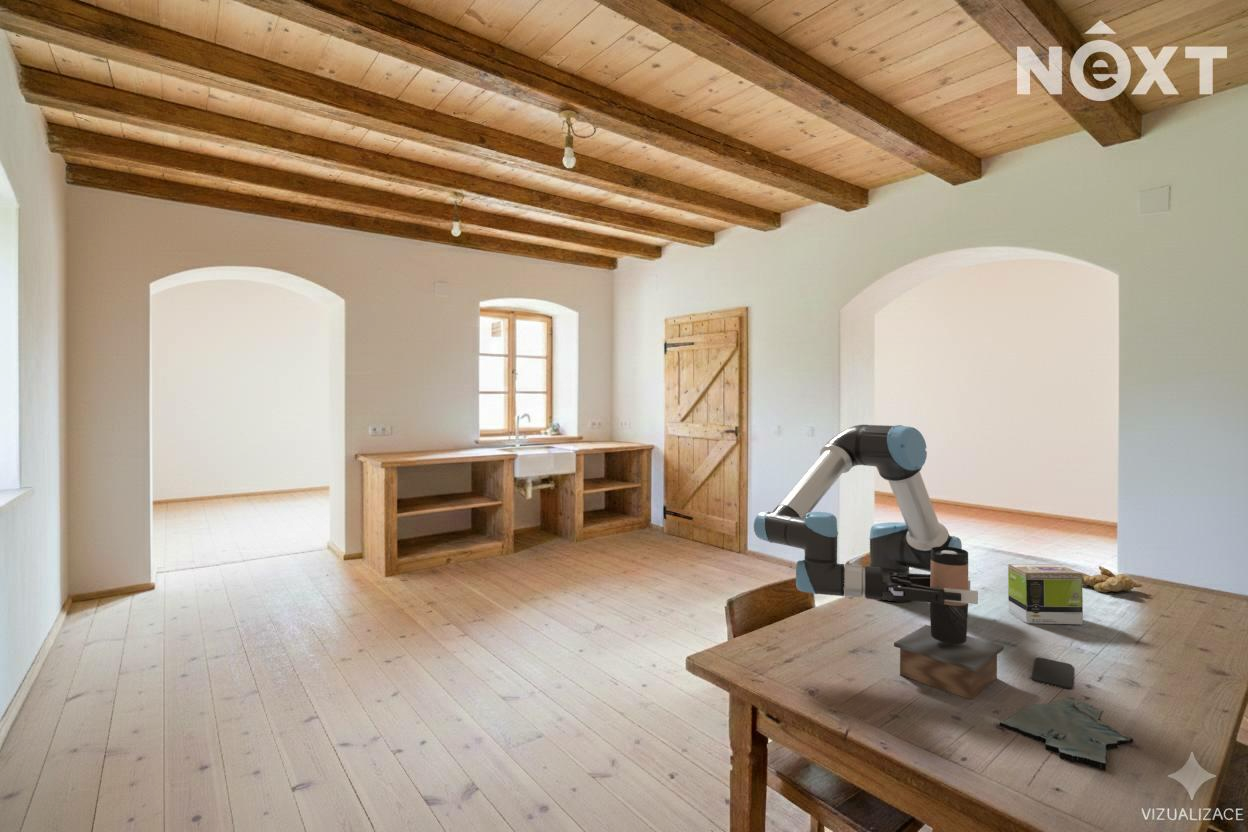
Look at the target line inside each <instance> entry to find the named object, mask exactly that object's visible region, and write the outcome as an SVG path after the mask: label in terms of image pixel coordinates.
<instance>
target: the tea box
mask: <svg viewBox="0 0 1248 832" xmlns="http://www.w3.org/2000/svg"><path fill="white" fill-rule="evenodd" d="M1007 569H1008V570H1007V571H1008V572H1007V574H1008V575H1007V576H1008V577H1007V578H1008V583H1007V584H1008V588H1007V589H1008V597H1007V599H1008V613H1010V614H1012V615H1013V616H1014V617H1017V618H1018V619H1019V620H1020V621H1022V622H1024V623H1026V624H1035V625H1037V624H1040V625H1041V624H1043V625H1047V624H1048V625H1049V624H1050V625H1081V626H1082V625H1084V621H1083V619H1084V615H1083V614H1084V613H1083V611H1084V610H1083V608H1084V607H1083V606H1084V605H1083V602H1084V600H1083V599H1084V598H1083V597H1084V596H1083V593H1084V592H1083V584H1082V573H1083V572H1081V573H1079V572H1080V571H1077V570H1074V569H1071V568H1070V567H1067V566H1065V565H1062V564H1059V563H1058V564H1057V563H1056V564H1053V563H1052V564H1051V563H1050V564H1047V563H1045V564H1042V563H1040V564H1039V563H1038V564H1037V563H1020V564H1019V563H1008V565H1007Z"/></svg>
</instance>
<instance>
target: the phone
mask: <svg viewBox="0 0 1248 832" xmlns="http://www.w3.org/2000/svg"><path fill="white" fill-rule="evenodd" d="M1073 674H1074V666H1073V665H1072V664H1071V663H1069V662H1068V663H1067V662H1063V661H1058V660H1053V659H1049V658H1044V657H1035V658H1034V664H1033V669H1032V674H1031V675H1032V676H1031V680H1032V681H1033V682H1035V683H1038V682H1039V684H1042V683H1044V684H1043V685H1046V684H1049V685H1048V686H1051V685H1052V686H1051V687H1055V686H1056V688H1059V687H1060V689H1063V690H1073V686H1074V679H1073V677H1074V675H1073Z"/></svg>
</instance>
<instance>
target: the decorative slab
mask: <svg viewBox="0 0 1248 832" xmlns="http://www.w3.org/2000/svg"><path fill="white" fill-rule="evenodd" d="M1081 702H1082V701H1081V700H1078V699H1075V697H1068V696H1067V698H1066V699H1065V698H1064V699H1060V700H1059V699H1058V700H1055V701H1052V702H1050V703H1036V704H1031V705H1028V706H1026V707H1023V708H1021V710H1020V711H1019V712H1016V713H1015V714H1014V715H1012V716H1011V717H1008V718H1007V719H1006V720H1004V721H1000V722H999V727H1002V728H1005V729H1006V730H1009V731H1011V732H1015V733H1017V734H1019V735H1021V736H1023V737H1026V738H1029V739H1031V740H1034V741H1036V742H1041V743H1042V744H1044V745H1045V750H1046V751H1049V752H1052V753H1053V754H1054V753H1055V754H1057V755H1058V756H1059V759H1060V760H1061V759H1062V760H1065V761H1068V762H1071V763H1075V764H1080V765H1084V766H1088V767H1091V768H1094V769H1097V770H1100V771H1103V772H1106V770H1107V750H1115V749H1118V748H1119V746H1123V745H1127V744H1132V743H1134V738H1133V737H1132V738H1131V737H1130V736H1129V737H1128V736H1126V735H1125V734H1123V733H1120V732H1119V731H1117V730H1116V729H1115V728H1112V726H1109V725H1108V724H1106V723H1105V722H1104V721H1101V715H1102V713H1103V712H1104V710H1103V709H1100V708H1096V707H1093V705H1092V704H1091V703H1087V702H1083V703H1081Z"/></svg>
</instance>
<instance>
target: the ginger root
mask: <svg viewBox="0 0 1248 832" xmlns="http://www.w3.org/2000/svg"><path fill="white" fill-rule="evenodd" d="M1098 569H1099V570H1100V573H1099V574H1094V575H1089V574H1087V573H1084V572H1080V571H1078V572H1079V573H1082V586H1088V587H1091V588H1092V587H1093V589H1094V590H1095V591H1096V592H1098V593H1102V592H1104V594H1105V593H1109V592H1120V591H1123V592H1128V591H1131V590H1133V589H1134V588H1142V587H1143V584H1142V583H1137V581H1134V580H1133V579H1132V578H1131V577H1130V576H1128V575H1126V574H1124V573H1118V574H1115V573H1113V572H1112V571H1111V570H1109V569H1107V568H1105V567H1104V566H1103V567H1102V566H1101V565H1099V566H1098Z"/></svg>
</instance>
